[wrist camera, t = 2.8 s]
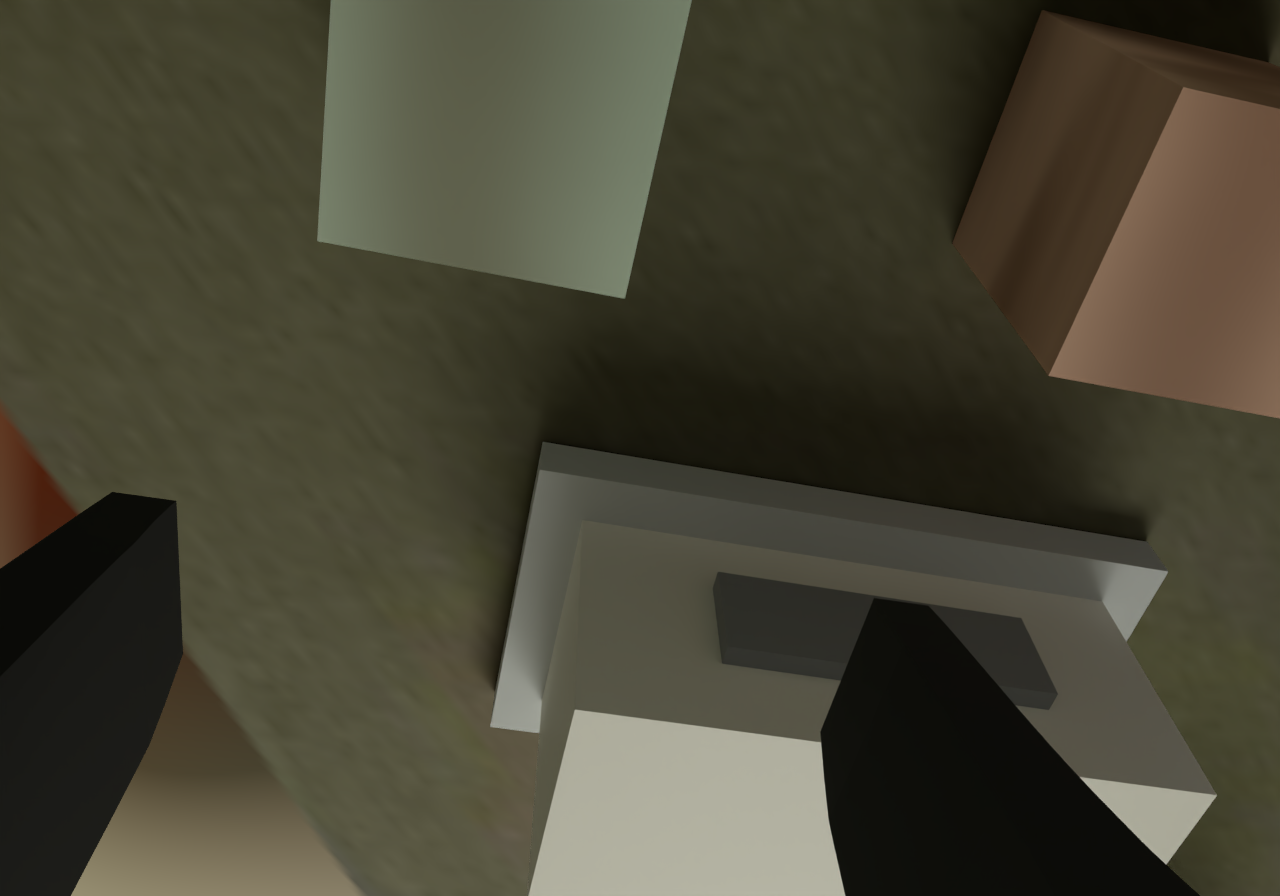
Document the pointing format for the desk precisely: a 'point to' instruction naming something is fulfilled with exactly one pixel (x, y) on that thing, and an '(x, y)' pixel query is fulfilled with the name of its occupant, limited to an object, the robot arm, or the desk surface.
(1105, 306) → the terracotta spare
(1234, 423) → the desk surface
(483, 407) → the desk surface
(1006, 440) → the desk surface
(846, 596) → the mounted unit
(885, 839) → the robot arm
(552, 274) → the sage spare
